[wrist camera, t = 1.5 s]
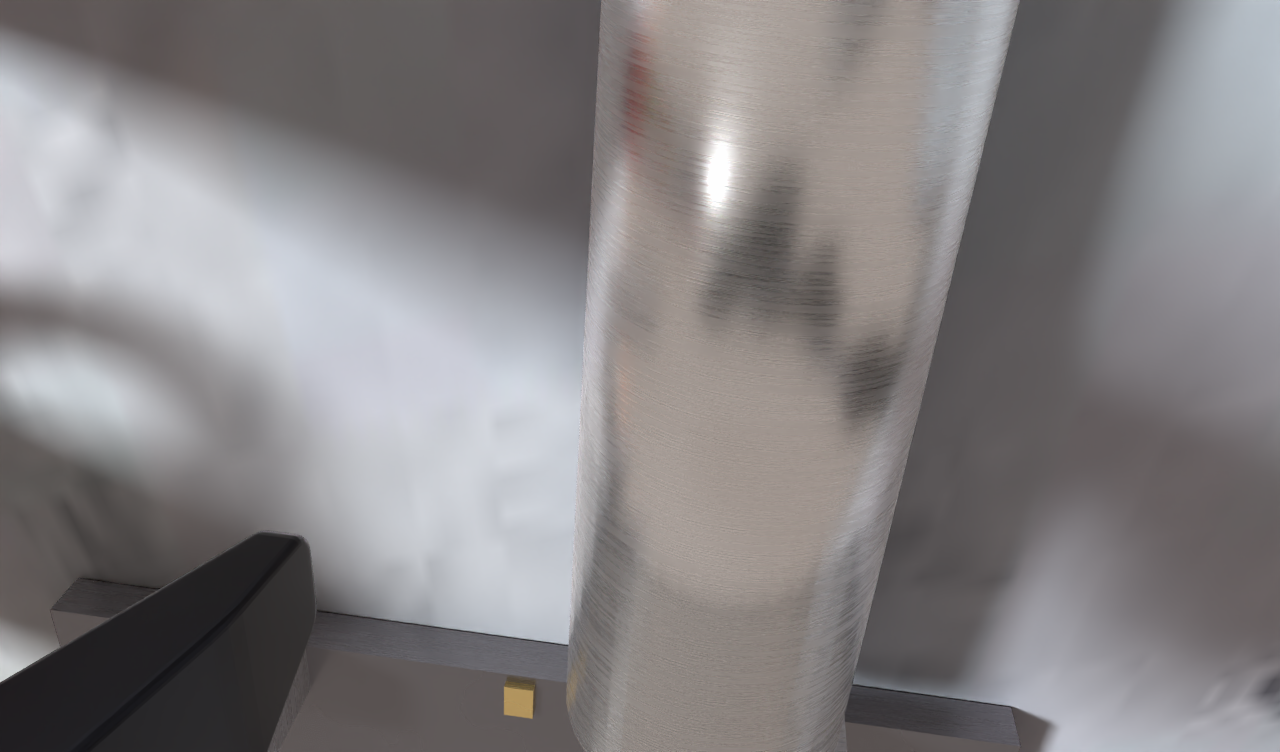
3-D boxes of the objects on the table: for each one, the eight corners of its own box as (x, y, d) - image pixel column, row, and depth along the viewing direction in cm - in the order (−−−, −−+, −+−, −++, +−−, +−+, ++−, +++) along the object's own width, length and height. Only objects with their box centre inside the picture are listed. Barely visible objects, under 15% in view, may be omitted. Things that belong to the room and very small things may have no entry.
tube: (681, -363, 13) (554, -439, 9) (1084, -339, 12) (1148, -413, 8) (611, 578, 21) (526, 768, 17) (852, 635, 20) (825, 852, 16)
